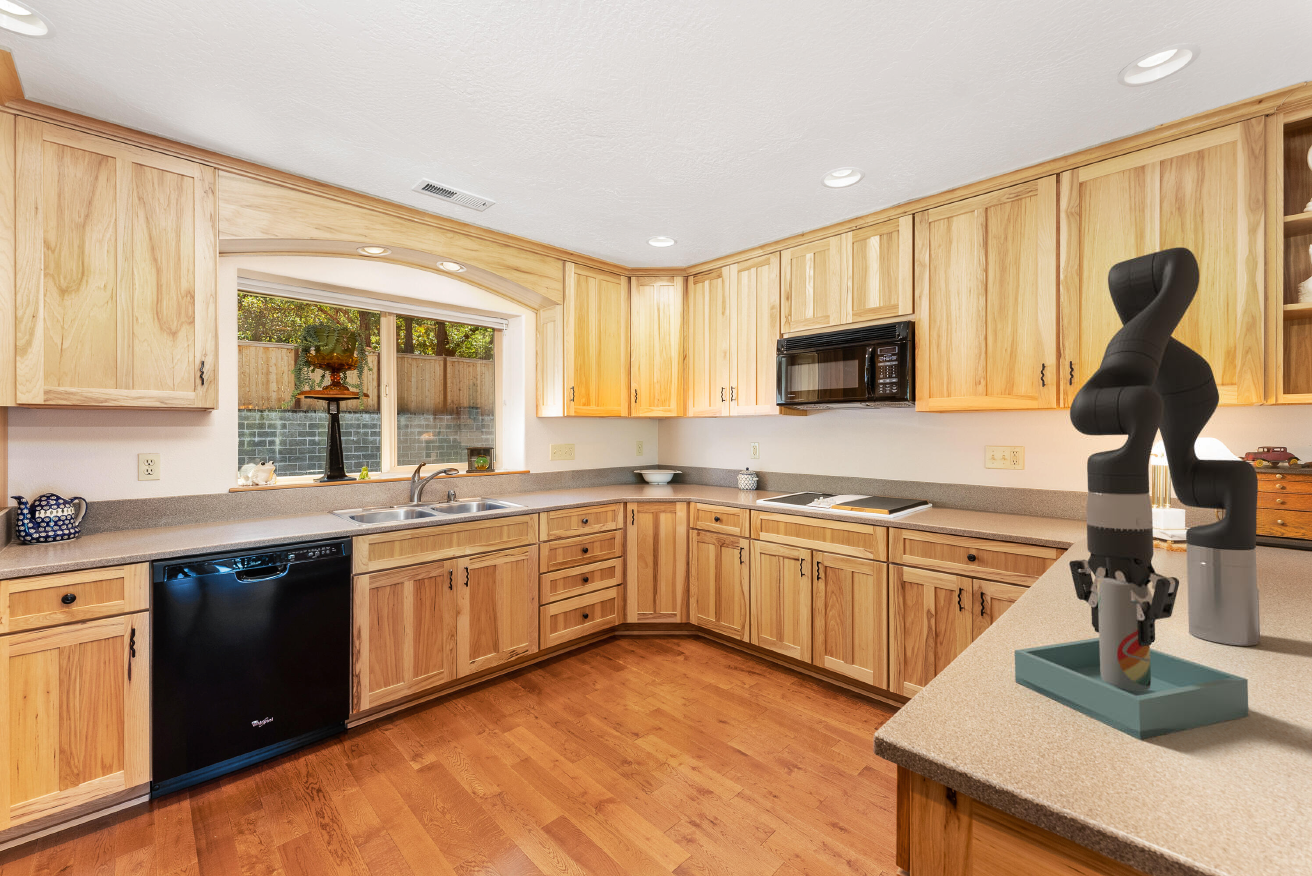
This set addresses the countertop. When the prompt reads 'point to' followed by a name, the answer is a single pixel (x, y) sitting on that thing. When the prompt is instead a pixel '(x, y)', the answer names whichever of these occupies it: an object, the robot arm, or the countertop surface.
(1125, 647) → the lotion bottle
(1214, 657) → the countertop surface
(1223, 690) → the tray
